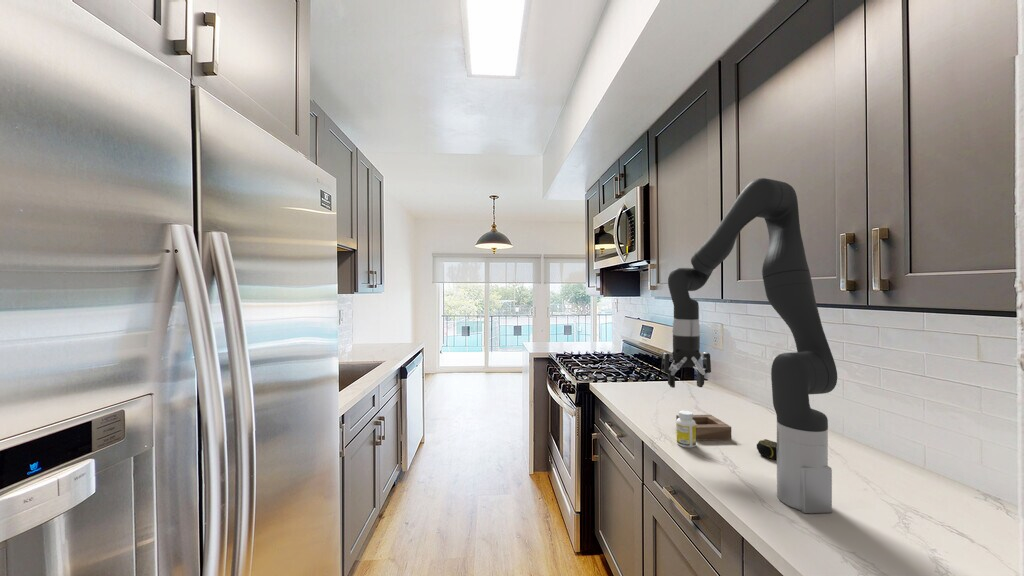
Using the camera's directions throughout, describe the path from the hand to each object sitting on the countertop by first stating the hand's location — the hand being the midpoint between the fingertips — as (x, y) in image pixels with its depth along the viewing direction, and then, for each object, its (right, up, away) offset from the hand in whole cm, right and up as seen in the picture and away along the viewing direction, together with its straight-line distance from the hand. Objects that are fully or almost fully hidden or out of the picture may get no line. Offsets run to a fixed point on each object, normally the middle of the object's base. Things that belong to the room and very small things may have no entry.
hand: (686, 386), depth 121 cm
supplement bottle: (0, -18, 0) cm, 18 cm away
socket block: (+10, -17, +9) cm, 22 cm away
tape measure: (+21, -18, -8) cm, 29 cm away
